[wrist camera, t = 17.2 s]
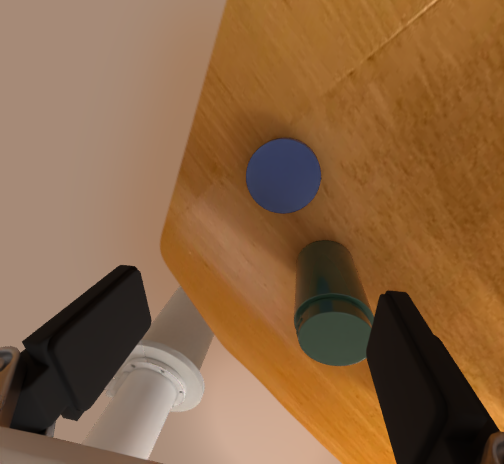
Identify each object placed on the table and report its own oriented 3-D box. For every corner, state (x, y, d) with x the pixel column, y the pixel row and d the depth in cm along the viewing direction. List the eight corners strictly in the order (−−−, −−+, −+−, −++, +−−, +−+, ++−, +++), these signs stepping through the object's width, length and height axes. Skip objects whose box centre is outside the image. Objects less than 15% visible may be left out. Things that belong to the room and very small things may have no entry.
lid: (324, 137, 22) (326, 139, 20) (316, 209, 25) (317, 215, 23) (249, 137, 23) (245, 138, 22) (250, 205, 26) (246, 211, 25)
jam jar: (294, 284, 29) (290, 362, 20) (298, 237, 27) (296, 303, 17) (348, 289, 28) (371, 375, 19) (357, 242, 26) (390, 314, 16)
